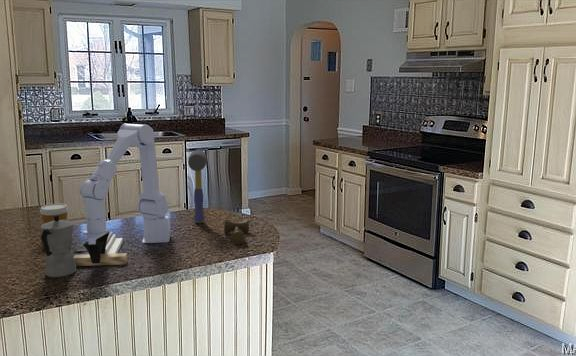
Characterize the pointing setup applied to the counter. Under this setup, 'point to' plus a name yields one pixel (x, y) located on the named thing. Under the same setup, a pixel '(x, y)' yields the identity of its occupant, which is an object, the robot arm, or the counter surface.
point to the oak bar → (101, 259)
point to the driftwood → (81, 246)
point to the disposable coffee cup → (53, 212)
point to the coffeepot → (58, 247)
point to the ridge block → (113, 244)
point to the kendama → (236, 230)
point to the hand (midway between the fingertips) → (98, 258)
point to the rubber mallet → (198, 182)
